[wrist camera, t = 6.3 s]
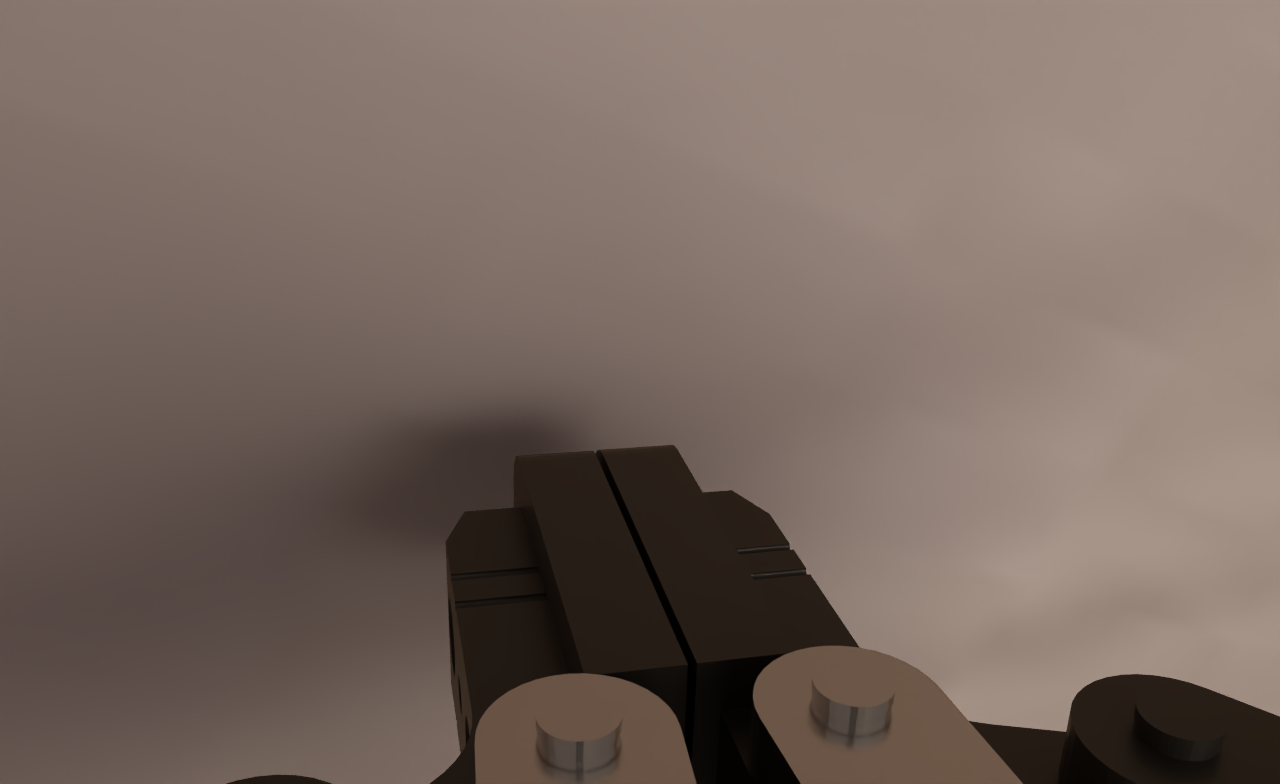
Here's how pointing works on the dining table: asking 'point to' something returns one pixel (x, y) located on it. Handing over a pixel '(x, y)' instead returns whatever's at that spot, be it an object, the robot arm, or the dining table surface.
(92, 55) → the dining table surface
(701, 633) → the robot arm
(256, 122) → the dining table surface
